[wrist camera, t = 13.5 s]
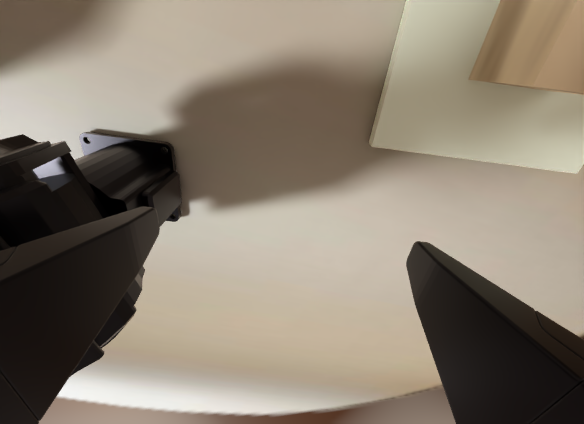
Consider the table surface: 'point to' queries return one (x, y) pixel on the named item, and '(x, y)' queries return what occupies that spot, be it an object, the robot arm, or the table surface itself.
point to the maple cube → (534, 46)
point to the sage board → (469, 97)
